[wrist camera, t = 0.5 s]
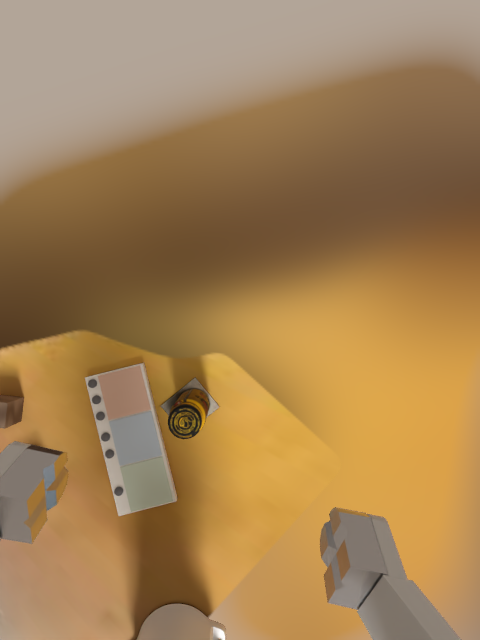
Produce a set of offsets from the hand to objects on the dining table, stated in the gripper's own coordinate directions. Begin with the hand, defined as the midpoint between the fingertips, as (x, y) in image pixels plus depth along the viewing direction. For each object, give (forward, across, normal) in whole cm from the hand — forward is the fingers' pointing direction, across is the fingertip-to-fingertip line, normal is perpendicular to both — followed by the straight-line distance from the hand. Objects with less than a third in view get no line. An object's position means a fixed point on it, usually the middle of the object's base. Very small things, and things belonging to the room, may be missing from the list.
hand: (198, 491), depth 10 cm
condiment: (+42, -5, -34) cm, 54 cm away
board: (+38, -14, -41) cm, 58 cm away
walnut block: (+39, -38, -41) cm, 68 cm away
